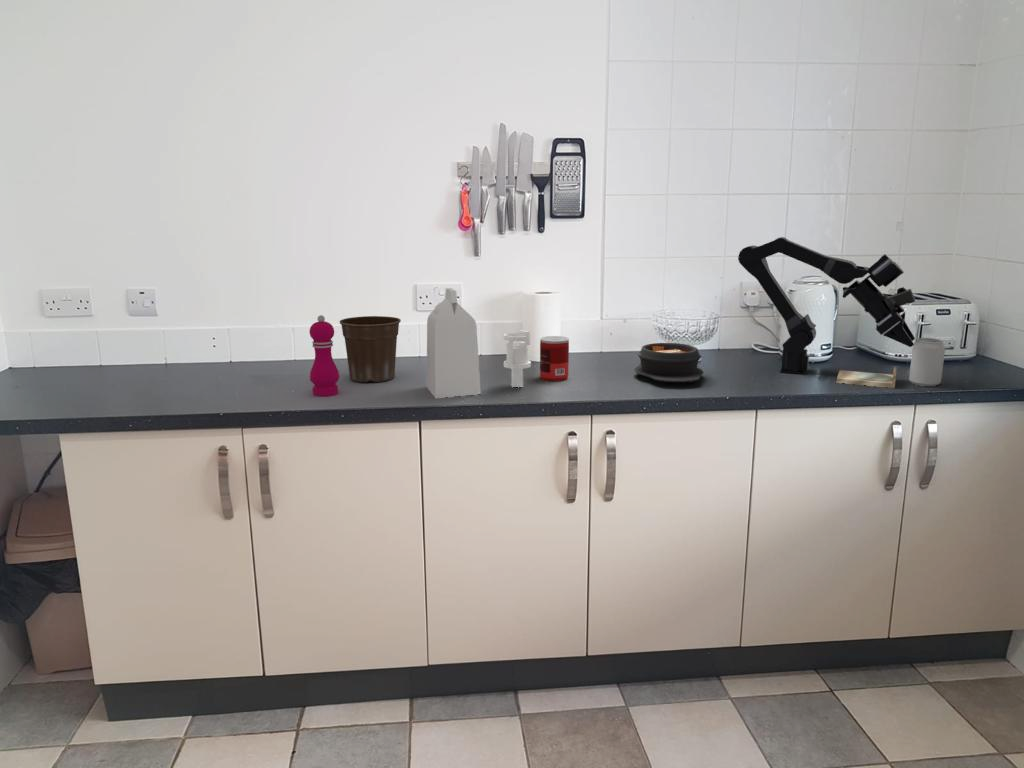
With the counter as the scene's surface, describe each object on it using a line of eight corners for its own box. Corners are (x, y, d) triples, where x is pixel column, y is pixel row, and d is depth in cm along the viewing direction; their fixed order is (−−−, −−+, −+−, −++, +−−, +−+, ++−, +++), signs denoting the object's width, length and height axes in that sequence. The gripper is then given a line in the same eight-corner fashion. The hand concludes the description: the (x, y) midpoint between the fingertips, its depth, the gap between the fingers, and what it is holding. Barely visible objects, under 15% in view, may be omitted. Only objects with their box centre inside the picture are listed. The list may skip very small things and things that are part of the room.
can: (944, 388, 205) (950, 342, 202) (912, 386, 206) (918, 341, 203) (935, 381, 212) (941, 337, 209) (905, 380, 213) (910, 336, 211)
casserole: (626, 368, 229) (626, 339, 227) (689, 367, 230) (691, 338, 228) (644, 389, 205) (645, 357, 203) (715, 388, 206) (717, 356, 204)
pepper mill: (313, 390, 204) (308, 313, 200) (341, 389, 205) (337, 312, 200) (308, 397, 197) (303, 317, 193) (338, 396, 198) (333, 317, 193)
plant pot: (369, 369, 228) (366, 313, 224) (414, 375, 220) (412, 318, 217) (330, 380, 215) (326, 321, 211) (376, 388, 207) (374, 326, 203)
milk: (480, 395, 199) (479, 291, 193) (435, 398, 196) (432, 293, 190) (469, 384, 211) (467, 286, 204) (426, 387, 207) (423, 287, 201)
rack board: (836, 382, 211) (837, 371, 210) (839, 374, 220) (840, 363, 219) (894, 388, 205) (896, 376, 204) (895, 379, 214) (896, 367, 214)
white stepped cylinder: (522, 391, 203) (522, 333, 199) (498, 387, 206) (498, 331, 203) (535, 385, 209) (535, 329, 205) (512, 382, 212) (511, 326, 209)
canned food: (572, 376, 219) (573, 337, 216) (561, 382, 212) (562, 342, 209) (546, 373, 222) (547, 335, 219) (535, 379, 215) (535, 339, 212)
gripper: (895, 281, 199) (939, 328, 196) (898, 274, 215) (940, 317, 212) (858, 311, 204) (901, 356, 202) (864, 302, 220) (904, 344, 218)
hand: (912, 342), depth 208 cm, fingers open, 9 cm apart
